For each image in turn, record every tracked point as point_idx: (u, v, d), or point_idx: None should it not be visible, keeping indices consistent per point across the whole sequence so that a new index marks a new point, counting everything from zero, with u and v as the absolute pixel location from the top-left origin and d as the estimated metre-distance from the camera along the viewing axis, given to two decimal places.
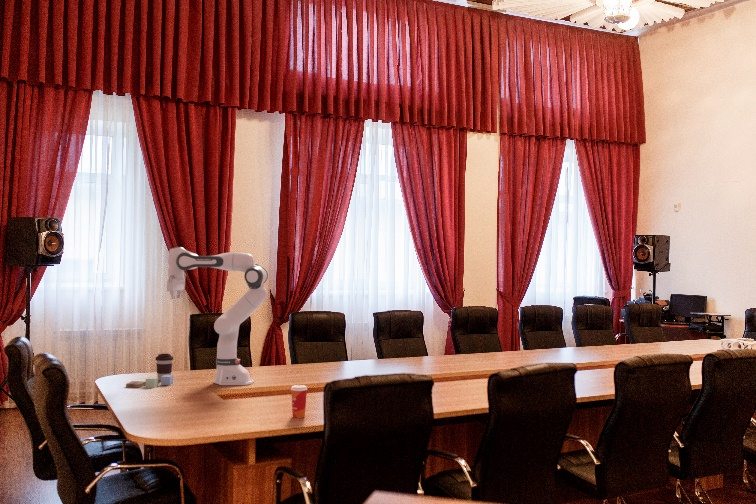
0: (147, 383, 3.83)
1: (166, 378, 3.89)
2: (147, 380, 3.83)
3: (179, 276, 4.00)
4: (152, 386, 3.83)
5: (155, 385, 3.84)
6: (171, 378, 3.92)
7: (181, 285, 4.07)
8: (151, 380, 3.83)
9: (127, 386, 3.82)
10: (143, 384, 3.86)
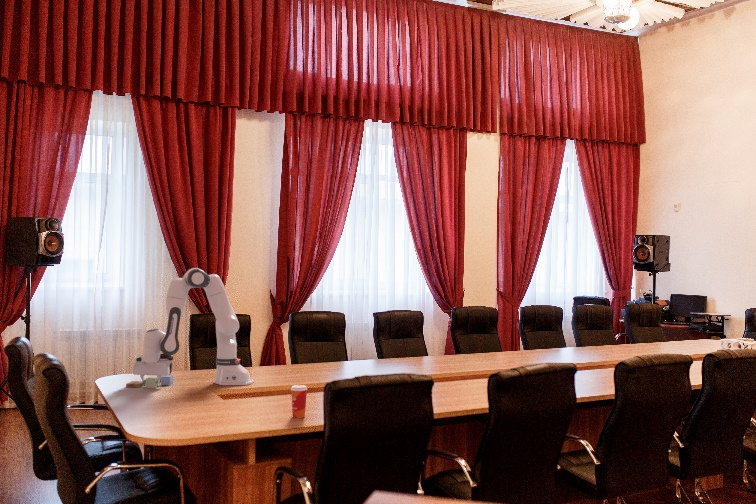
0: (147, 383, 3.83)
1: (166, 378, 3.89)
2: (147, 380, 3.83)
3: None
4: (152, 386, 3.82)
5: (155, 385, 3.84)
6: (171, 378, 3.92)
7: None
8: (151, 380, 3.83)
9: (127, 386, 3.82)
10: (143, 384, 3.86)
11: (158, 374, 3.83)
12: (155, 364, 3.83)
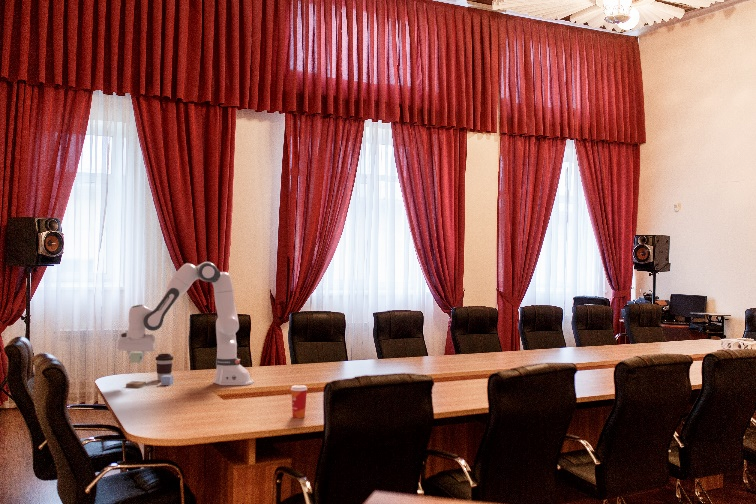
0: (131, 358, 3.83)
1: (166, 378, 3.89)
2: (131, 355, 3.83)
3: None
4: (136, 361, 3.83)
5: (139, 360, 3.84)
6: (171, 378, 3.92)
7: None
8: (135, 355, 3.83)
9: (127, 386, 3.82)
10: (143, 384, 3.86)
11: (143, 349, 3.84)
12: (140, 340, 3.84)
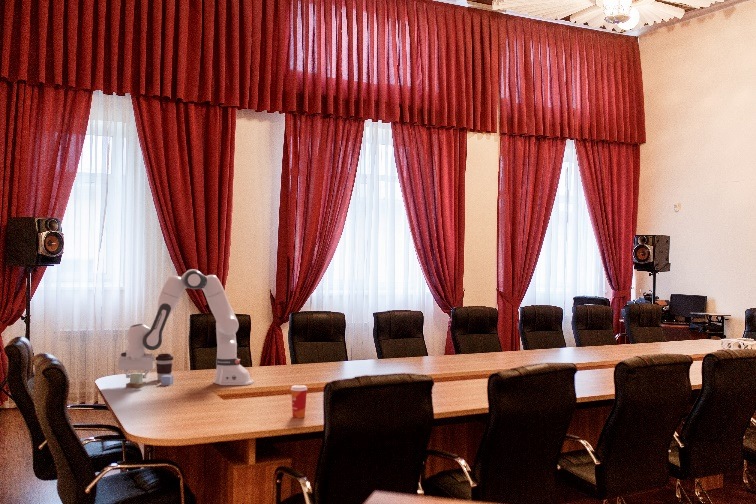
0: (131, 379, 3.83)
1: (166, 378, 3.89)
2: (131, 376, 3.83)
3: None
4: (136, 382, 3.83)
5: (139, 381, 3.85)
6: (171, 378, 3.92)
7: None
8: (135, 376, 3.83)
9: (127, 386, 3.82)
10: (143, 384, 3.86)
11: (143, 369, 3.84)
12: (140, 359, 3.84)
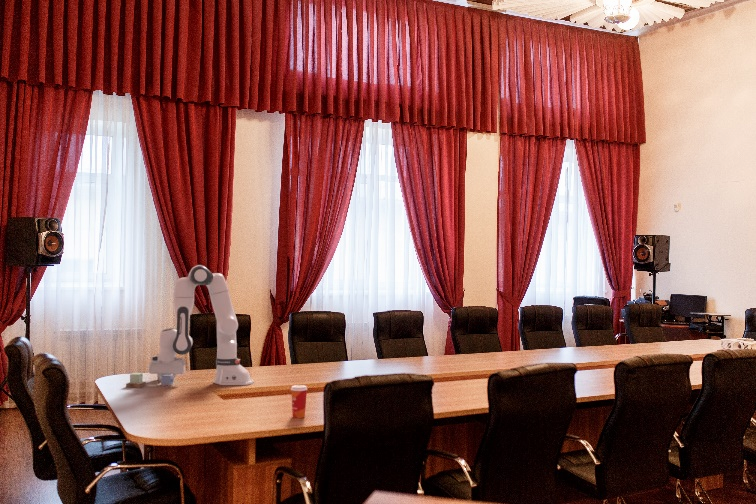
0: (131, 379, 3.83)
1: (166, 378, 3.89)
2: (131, 376, 3.83)
3: None
4: (136, 382, 3.83)
5: (139, 381, 3.85)
6: (171, 378, 3.92)
7: None
8: (135, 376, 3.83)
9: (127, 386, 3.82)
10: (143, 384, 3.86)
11: (174, 373, 3.90)
12: (171, 363, 3.90)
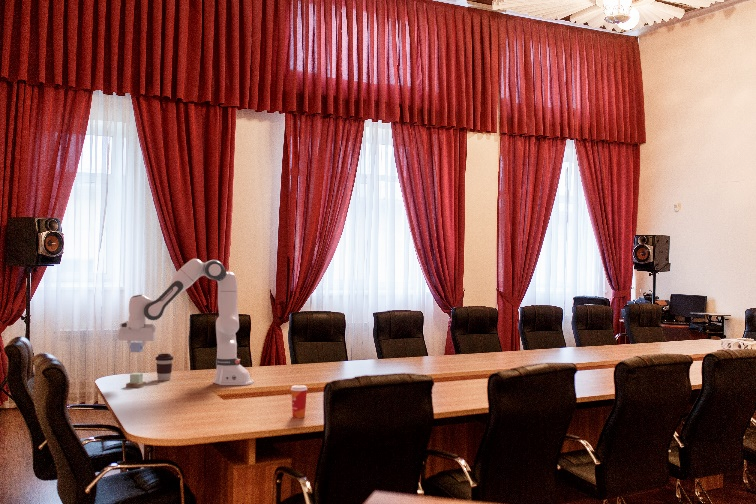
0: (131, 379, 3.83)
1: (135, 344, 3.83)
2: (131, 376, 3.83)
3: None
4: (136, 382, 3.83)
5: (139, 381, 3.85)
6: (141, 345, 3.86)
7: None
8: (135, 376, 3.83)
9: (127, 386, 3.82)
10: (143, 384, 3.86)
11: (144, 339, 3.84)
12: (140, 329, 3.84)
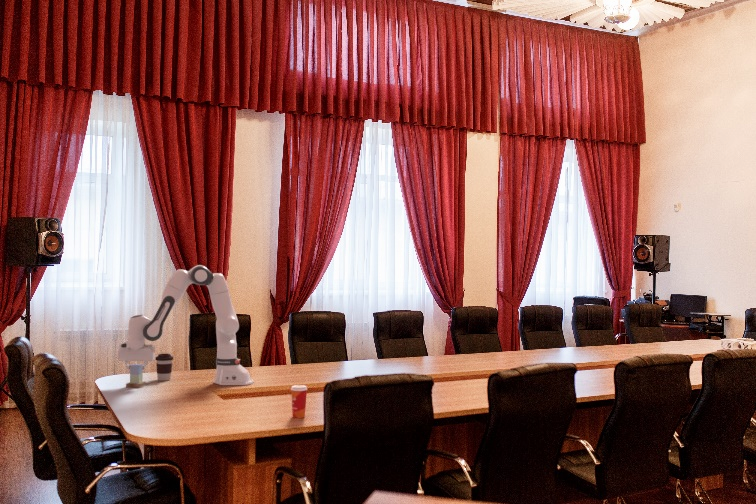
0: (131, 379, 3.83)
1: (135, 367, 3.83)
2: (131, 376, 3.83)
3: None
4: (136, 382, 3.83)
5: (139, 381, 3.85)
6: (140, 367, 3.86)
7: None
8: (135, 376, 3.83)
9: (127, 386, 3.82)
10: (143, 384, 3.86)
11: (143, 360, 3.84)
12: (140, 350, 3.84)
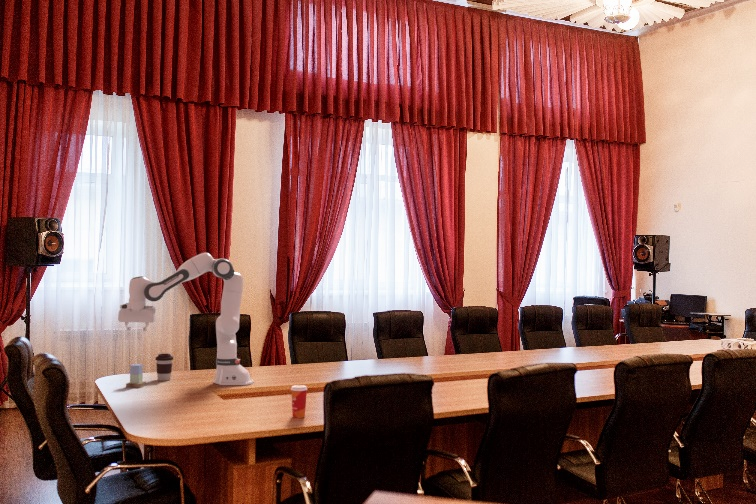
0: (131, 379, 3.83)
1: (135, 367, 3.83)
2: (131, 376, 3.83)
3: None
4: (136, 382, 3.83)
5: (139, 381, 3.85)
6: (140, 367, 3.86)
7: None
8: (135, 376, 3.83)
9: (127, 386, 3.82)
10: (143, 384, 3.86)
11: (144, 321, 3.84)
12: (141, 311, 3.84)
